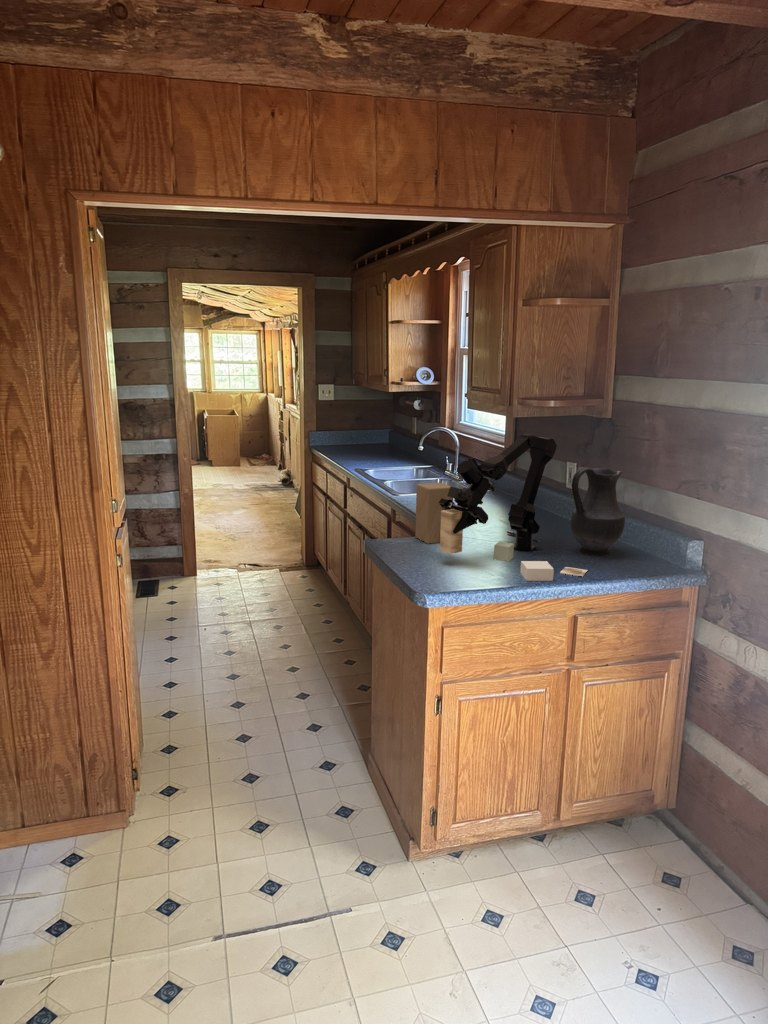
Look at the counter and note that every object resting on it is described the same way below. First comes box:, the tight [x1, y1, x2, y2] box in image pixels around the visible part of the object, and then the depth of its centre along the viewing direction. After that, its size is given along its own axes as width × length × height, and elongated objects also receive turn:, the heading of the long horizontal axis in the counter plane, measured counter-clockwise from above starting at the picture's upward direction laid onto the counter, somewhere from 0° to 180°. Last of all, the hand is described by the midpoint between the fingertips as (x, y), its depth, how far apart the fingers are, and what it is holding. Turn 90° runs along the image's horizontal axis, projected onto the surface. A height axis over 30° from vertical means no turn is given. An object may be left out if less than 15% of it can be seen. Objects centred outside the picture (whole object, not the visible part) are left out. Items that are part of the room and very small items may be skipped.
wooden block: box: [414, 482, 454, 545], centre depth 257 cm, size 10×10×20 cm
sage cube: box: [493, 541, 515, 562], centre depth 235 cm, size 5×5×5 cm
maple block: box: [439, 509, 464, 555], centre depth 227 cm, size 5×5×13 cm
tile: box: [559, 566, 588, 578], centre depth 222 cm, size 7×7×1 cm
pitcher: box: [570, 466, 626, 557], centre depth 240 cm, size 17×21×30 cm
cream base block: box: [519, 560, 555, 582], centre depth 217 cm, size 8×8×4 cm
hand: (448, 531), depth 226 cm, fingers closed on maple block, 5 cm apart
